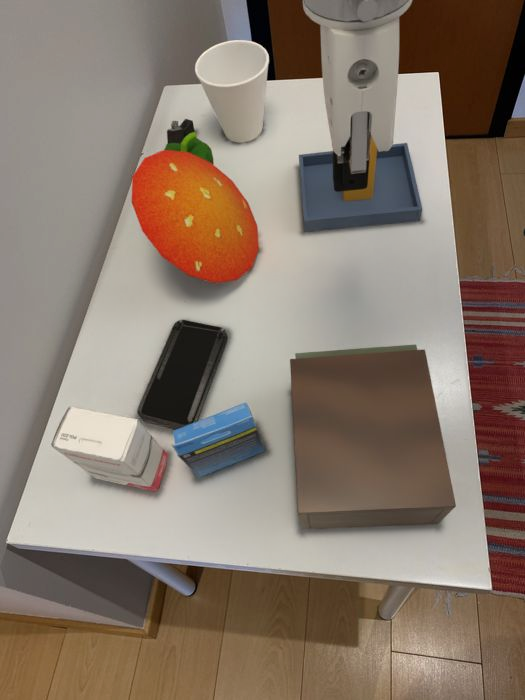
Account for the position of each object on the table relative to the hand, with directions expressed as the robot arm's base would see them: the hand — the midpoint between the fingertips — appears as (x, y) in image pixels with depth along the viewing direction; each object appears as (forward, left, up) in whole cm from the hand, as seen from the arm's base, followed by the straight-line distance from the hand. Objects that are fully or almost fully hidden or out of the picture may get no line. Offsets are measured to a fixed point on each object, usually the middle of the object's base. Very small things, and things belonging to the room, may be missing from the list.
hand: (349, 184), depth 50 cm
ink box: (+28, +20, -23) cm, 41 cm away
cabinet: (0, +20, -23) cm, 31 cm away
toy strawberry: (+19, -13, -23) cm, 33 cm away
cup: (+14, -40, -23) cm, 48 cm away
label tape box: (+16, +19, -23) cm, 34 cm away
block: (-4, -22, -23) cm, 32 cm away
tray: (-4, -22, -23) cm, 32 cm away
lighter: (+25, -37, -23) cm, 51 cm away
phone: (+22, +8, -23) cm, 33 cm away
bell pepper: (+22, -26, -23) cm, 41 cm away
